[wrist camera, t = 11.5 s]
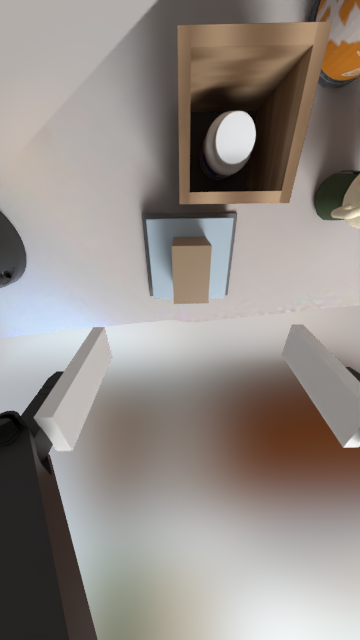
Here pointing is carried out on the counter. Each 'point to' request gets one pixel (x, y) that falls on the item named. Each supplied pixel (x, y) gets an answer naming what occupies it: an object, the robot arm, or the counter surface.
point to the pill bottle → (227, 144)
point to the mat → (175, 216)
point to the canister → (339, 41)
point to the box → (251, 97)
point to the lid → (189, 258)
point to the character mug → (340, 198)
